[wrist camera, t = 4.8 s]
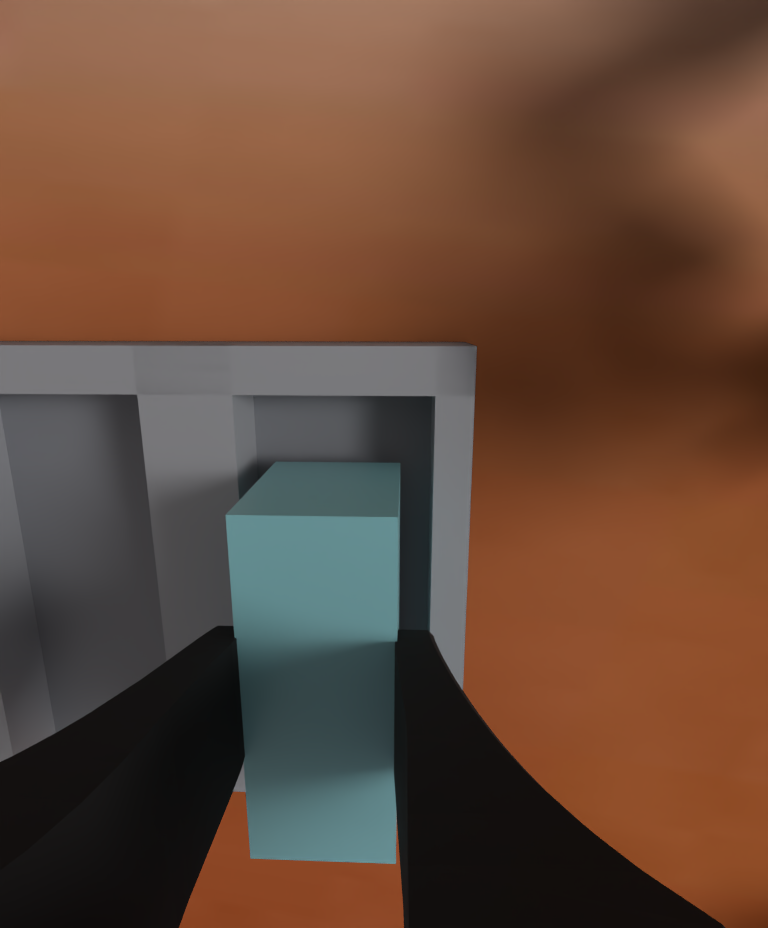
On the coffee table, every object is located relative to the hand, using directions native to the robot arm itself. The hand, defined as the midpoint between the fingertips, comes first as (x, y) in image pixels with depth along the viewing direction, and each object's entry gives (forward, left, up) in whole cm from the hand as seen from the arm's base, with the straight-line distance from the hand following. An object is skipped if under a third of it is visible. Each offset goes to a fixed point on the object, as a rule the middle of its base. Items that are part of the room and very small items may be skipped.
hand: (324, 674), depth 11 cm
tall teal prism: (0, 0, -3) cm, 3 cm away
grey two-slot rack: (+1, +3, -5) cm, 6 cm away
